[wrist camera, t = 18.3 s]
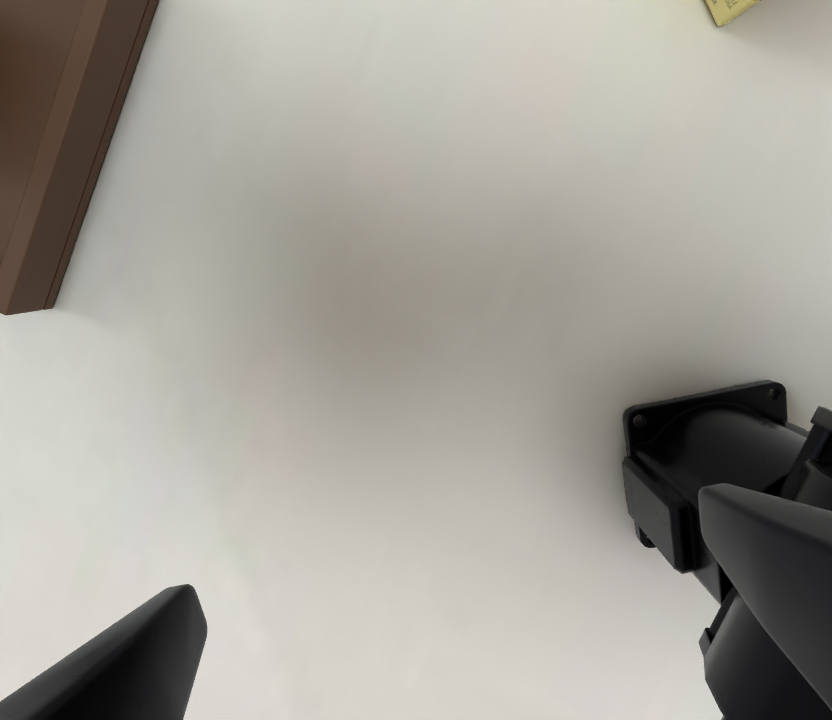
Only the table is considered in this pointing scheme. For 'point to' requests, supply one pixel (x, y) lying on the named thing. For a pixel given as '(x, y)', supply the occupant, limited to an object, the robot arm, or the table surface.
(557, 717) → the table surface
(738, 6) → the candy box
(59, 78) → the tray
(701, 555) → the robot arm
